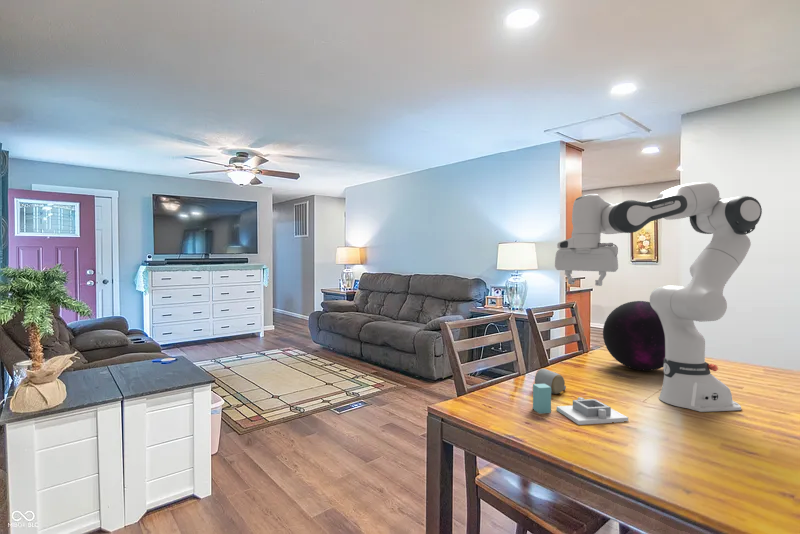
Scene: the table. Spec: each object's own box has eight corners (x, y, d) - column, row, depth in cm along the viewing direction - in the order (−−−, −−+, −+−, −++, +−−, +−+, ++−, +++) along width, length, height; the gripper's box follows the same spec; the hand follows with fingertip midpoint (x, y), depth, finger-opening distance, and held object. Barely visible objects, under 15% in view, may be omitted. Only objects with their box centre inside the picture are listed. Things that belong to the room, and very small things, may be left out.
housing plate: (601, 407, 135) (601, 395, 135) (628, 421, 122) (629, 409, 122) (556, 409, 132) (556, 398, 132) (579, 425, 120) (579, 412, 120)
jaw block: (544, 408, 133) (544, 383, 133) (551, 412, 130) (551, 387, 129) (532, 409, 133) (533, 384, 133) (539, 413, 129) (539, 387, 129)
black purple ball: (699, 379, 167) (700, 304, 166) (624, 378, 167) (625, 304, 167) (654, 361, 197) (655, 298, 196) (590, 361, 197) (591, 297, 197)
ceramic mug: (552, 396, 145) (553, 374, 145) (533, 390, 152) (534, 369, 152) (571, 392, 151) (572, 371, 151) (552, 386, 158) (553, 366, 158)
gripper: (622, 243, 132) (621, 286, 132) (562, 244, 148) (561, 283, 148) (613, 242, 128) (612, 286, 128) (552, 243, 144) (551, 283, 144)
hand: (584, 284), depth 139 cm, fingers open, 8 cm apart
